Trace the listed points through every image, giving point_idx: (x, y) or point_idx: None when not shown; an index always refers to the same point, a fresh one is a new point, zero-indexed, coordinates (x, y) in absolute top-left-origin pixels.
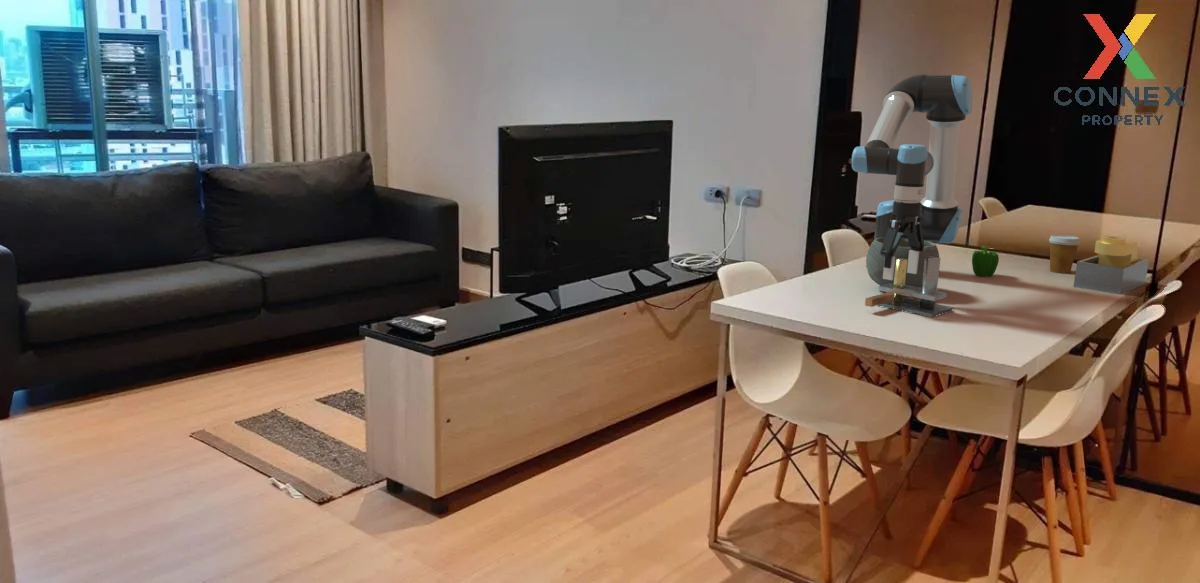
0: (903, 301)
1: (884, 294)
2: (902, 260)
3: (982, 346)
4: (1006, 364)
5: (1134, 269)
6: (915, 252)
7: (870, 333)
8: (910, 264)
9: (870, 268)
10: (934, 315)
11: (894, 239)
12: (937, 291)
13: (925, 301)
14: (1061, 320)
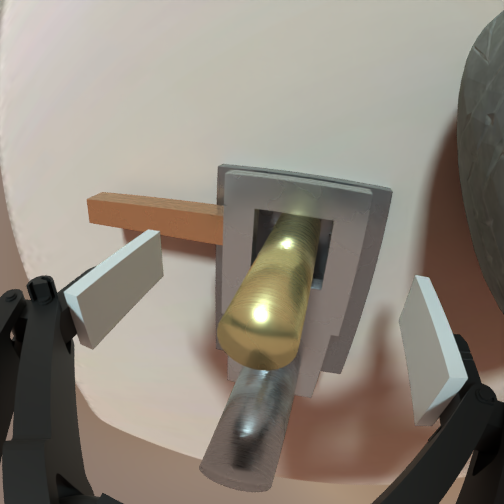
0: None
1: (179, 222)
2: (228, 350)
3: (125, 406)
4: (95, 414)
5: None
6: (423, 406)
7: (33, 267)
8: (420, 321)
9: (485, 28)
10: None
11: (3, 412)
12: (315, 376)
13: None
14: (382, 473)
